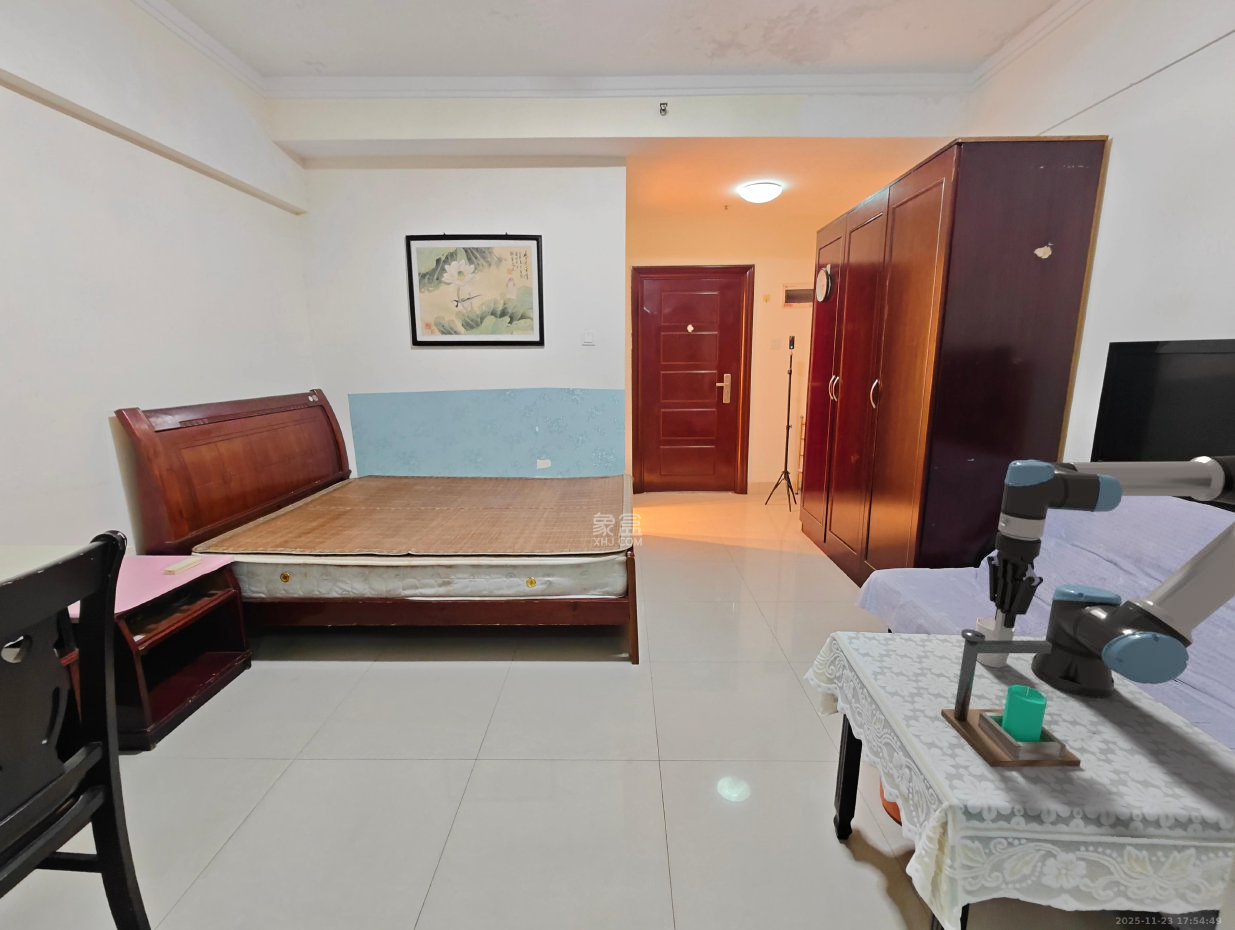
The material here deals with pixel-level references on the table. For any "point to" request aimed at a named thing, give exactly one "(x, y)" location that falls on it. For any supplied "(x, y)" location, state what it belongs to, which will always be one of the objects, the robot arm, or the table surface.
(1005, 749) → the board
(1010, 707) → the candle
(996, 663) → the white cup
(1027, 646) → the bar
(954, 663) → the table surface
